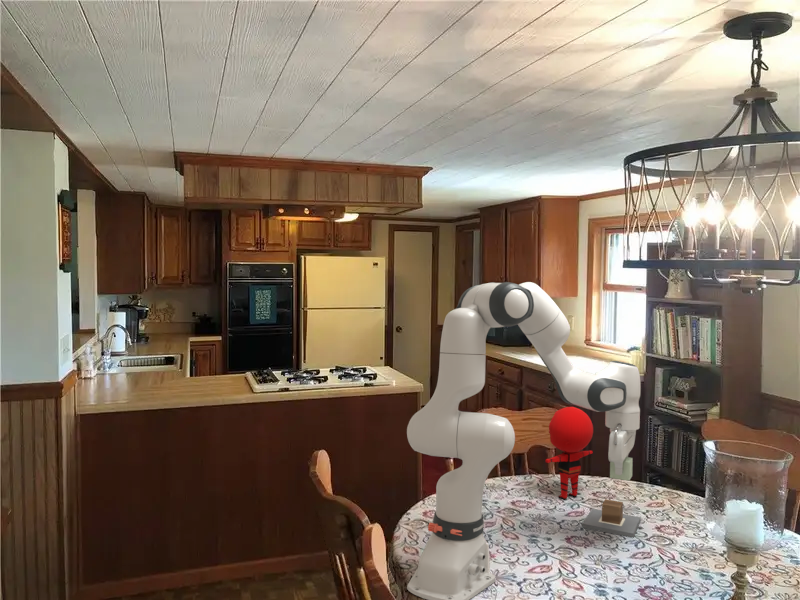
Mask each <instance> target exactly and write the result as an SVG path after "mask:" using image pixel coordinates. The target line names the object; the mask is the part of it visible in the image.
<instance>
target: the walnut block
mask: <svg viewBox="0 0 800 600" xmlns="http://www.w3.org/2000/svg"><path fill="white" fill-rule="evenodd" d="M623 509H624V502H623V501H617V500H614V499H607V498H605V499H604V500H603V501H602V504H601V510H602V521H603V522H608V523H613V524H619V525H620V523H621V521H622V519H623V514H624V510H623Z"/></svg>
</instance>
